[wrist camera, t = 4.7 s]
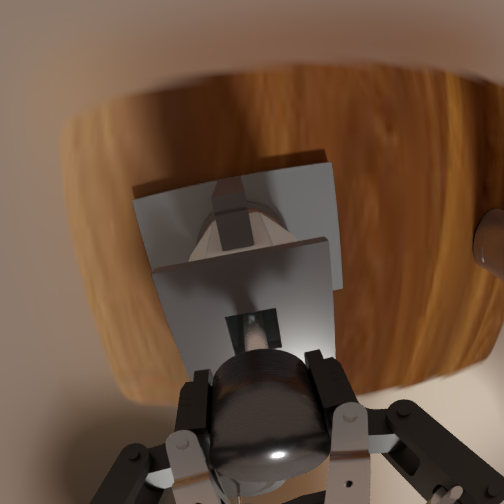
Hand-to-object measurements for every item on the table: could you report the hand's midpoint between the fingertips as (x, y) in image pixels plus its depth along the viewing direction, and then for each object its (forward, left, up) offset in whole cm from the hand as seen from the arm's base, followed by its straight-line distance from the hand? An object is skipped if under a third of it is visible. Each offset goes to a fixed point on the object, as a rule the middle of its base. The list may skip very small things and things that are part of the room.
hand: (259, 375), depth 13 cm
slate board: (0, 0, -19) cm, 19 cm away
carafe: (0, -1, -18) cm, 18 cm away
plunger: (0, 0, -10) cm, 10 cm away
